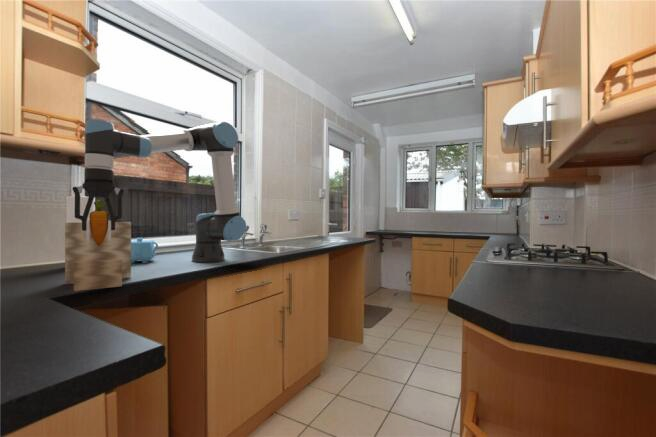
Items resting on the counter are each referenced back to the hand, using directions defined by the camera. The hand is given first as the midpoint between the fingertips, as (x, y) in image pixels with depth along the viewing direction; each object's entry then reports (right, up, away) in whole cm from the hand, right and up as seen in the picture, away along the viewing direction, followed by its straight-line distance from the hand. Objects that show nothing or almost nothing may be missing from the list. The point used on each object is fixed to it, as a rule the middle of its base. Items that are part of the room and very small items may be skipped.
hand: (98, 240), depth 101 cm
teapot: (-14, -14, +45) cm, 49 cm away
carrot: (0, -2, 0) cm, 2 cm away
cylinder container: (-30, -13, +31) cm, 45 cm away
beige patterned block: (0, -14, +1) cm, 14 cm away
